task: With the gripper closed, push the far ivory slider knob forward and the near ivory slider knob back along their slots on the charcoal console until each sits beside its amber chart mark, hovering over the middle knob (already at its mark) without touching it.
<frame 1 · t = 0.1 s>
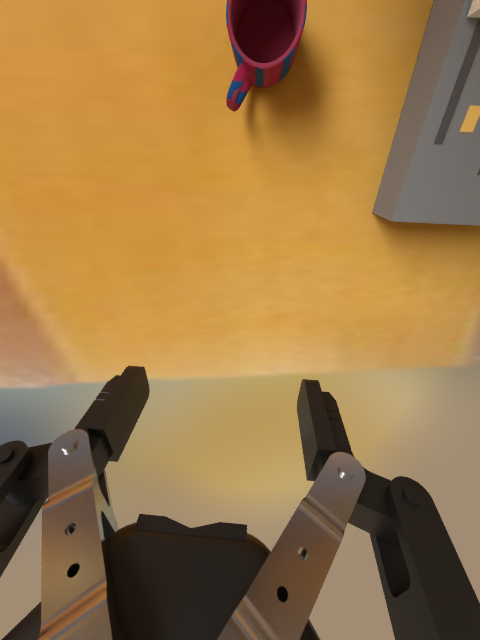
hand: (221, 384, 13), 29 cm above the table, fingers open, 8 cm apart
mug: (255, 63, 28), on the table
console: (470, 111, 28), on the table
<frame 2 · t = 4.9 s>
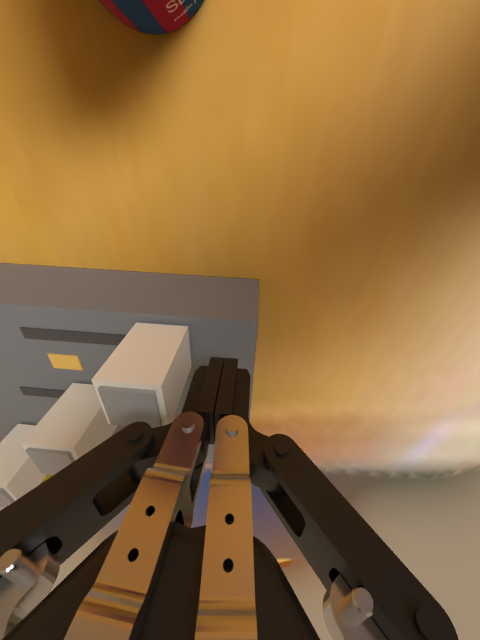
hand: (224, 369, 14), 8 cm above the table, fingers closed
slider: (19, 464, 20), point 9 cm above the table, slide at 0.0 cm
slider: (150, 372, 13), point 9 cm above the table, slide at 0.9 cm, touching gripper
console: (135, 346, 24), on the table
slider mid: (79, 428, 16), point 9 cm above the table, slide at 4.0 cm
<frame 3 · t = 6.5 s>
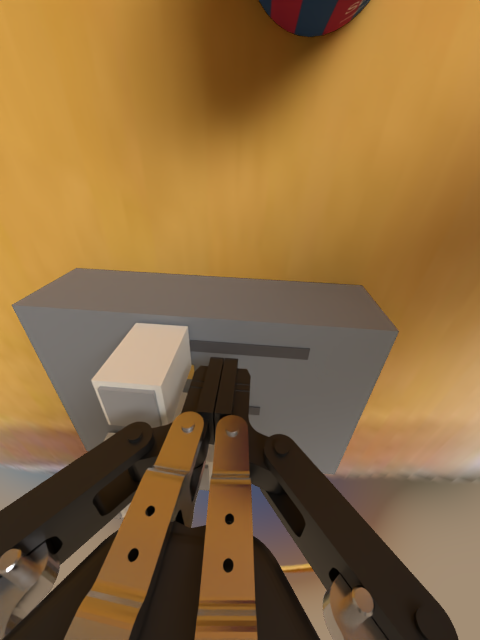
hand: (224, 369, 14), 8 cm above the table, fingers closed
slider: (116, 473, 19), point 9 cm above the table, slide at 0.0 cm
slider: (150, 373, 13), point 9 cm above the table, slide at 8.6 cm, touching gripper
console: (216, 352, 23), on the table
slider mid: (196, 438, 16), point 9 cm above the table, slide at 4.0 cm
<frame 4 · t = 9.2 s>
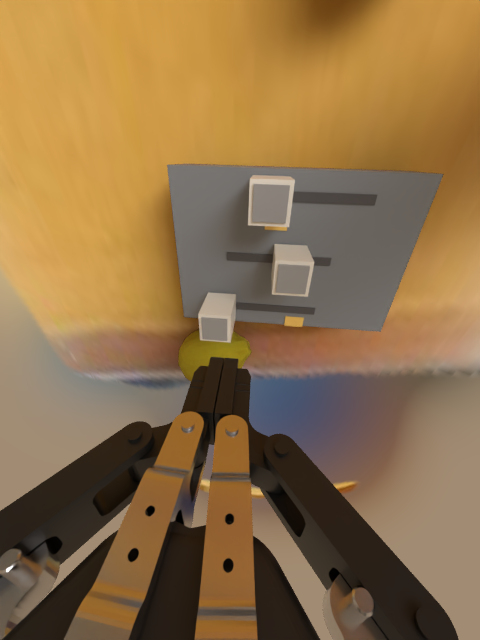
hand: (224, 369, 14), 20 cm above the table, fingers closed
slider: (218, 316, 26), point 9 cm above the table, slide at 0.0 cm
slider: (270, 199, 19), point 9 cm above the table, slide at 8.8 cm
console: (285, 242, 29), on the table
lemon: (218, 337, 38), on the table
slider mid: (290, 269, 22), point 9 cm above the table, slide at 4.0 cm
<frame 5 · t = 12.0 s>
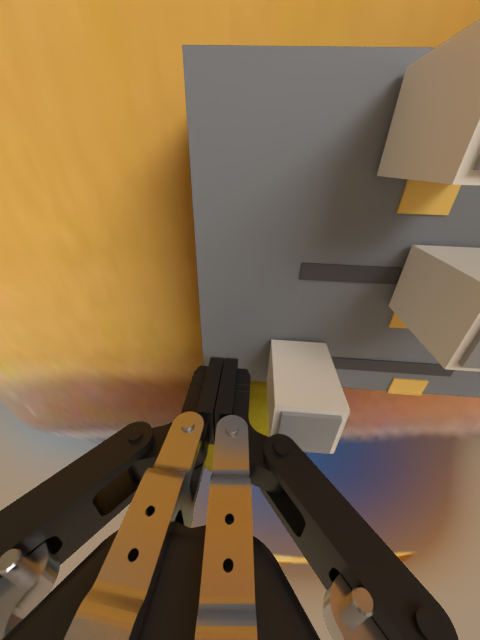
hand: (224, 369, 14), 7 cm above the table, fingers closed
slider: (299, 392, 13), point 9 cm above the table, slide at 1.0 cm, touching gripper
console: (379, 242, 17), on the table
lemon: (247, 386, 25), on the table
slider mid: (468, 303, 10), point 9 cm above the table, slide at 4.0 cm
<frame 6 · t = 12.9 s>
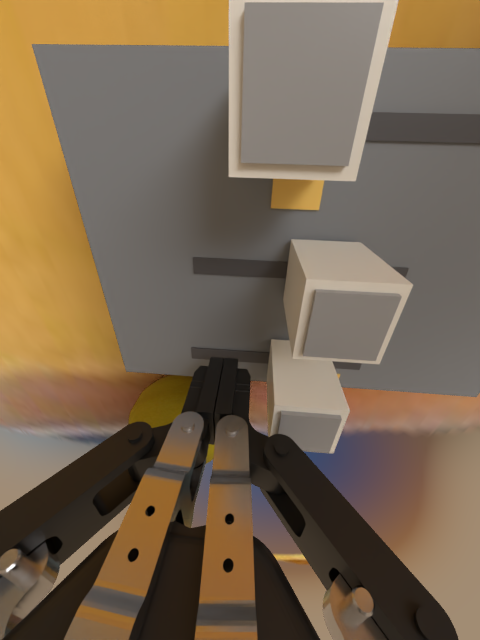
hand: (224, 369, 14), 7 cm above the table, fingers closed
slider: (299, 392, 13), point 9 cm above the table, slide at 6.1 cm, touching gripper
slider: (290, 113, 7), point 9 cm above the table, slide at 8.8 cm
console: (301, 239, 17), on the table
lemon: (197, 382, 25), on the table
slider mid: (330, 295, 10), point 9 cm above the table, slide at 4.0 cm
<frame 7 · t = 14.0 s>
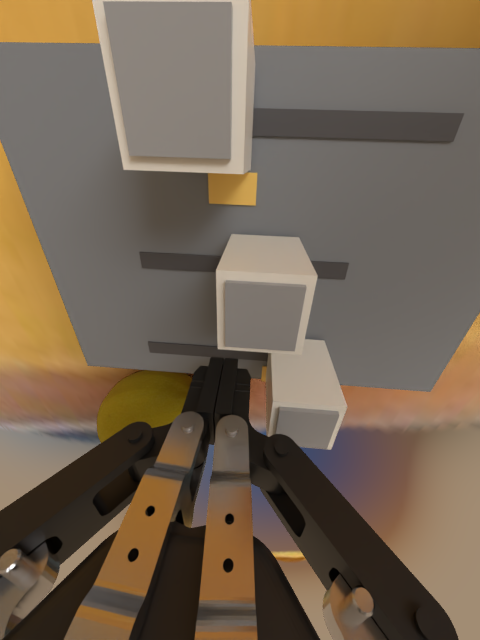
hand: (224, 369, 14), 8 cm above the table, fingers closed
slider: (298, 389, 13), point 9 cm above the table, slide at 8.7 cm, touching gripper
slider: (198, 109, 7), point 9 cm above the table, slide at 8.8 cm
console: (262, 235, 17), on the table
lemon: (171, 378, 26), on the table
slider mid: (262, 288, 10), point 9 cm above the table, slide at 4.0 cm
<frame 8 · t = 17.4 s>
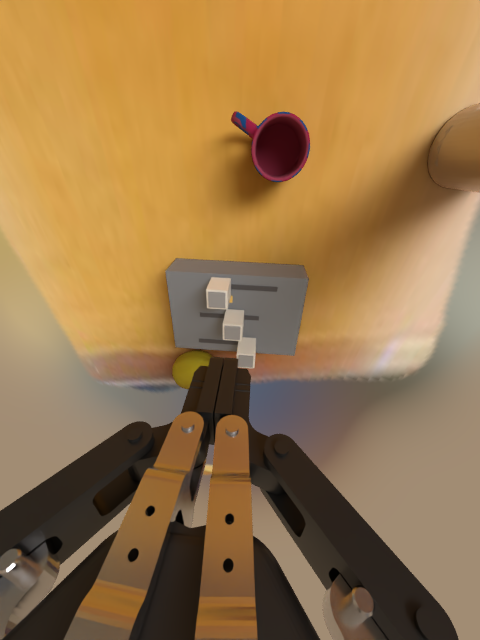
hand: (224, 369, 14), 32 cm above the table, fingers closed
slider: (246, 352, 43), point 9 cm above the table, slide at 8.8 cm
mug: (268, 142, 35), on the table
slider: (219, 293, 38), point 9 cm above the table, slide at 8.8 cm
console: (238, 300, 48), on the table
lemon: (199, 356, 56), on the table
slider mid: (233, 324, 40), point 9 cm above the table, slide at 4.0 cm
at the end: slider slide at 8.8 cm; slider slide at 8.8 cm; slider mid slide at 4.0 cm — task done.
